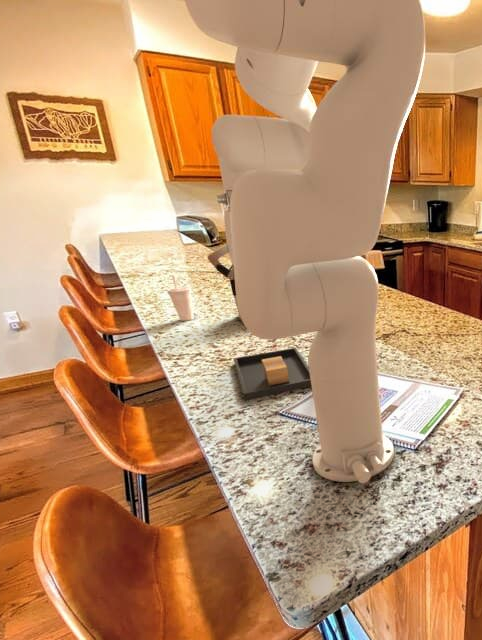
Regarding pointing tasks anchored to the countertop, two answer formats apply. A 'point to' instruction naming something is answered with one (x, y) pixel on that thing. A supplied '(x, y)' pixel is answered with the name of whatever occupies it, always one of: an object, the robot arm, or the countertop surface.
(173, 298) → the smoothie
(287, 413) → the countertop surface
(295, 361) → the tray
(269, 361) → the wooden block
